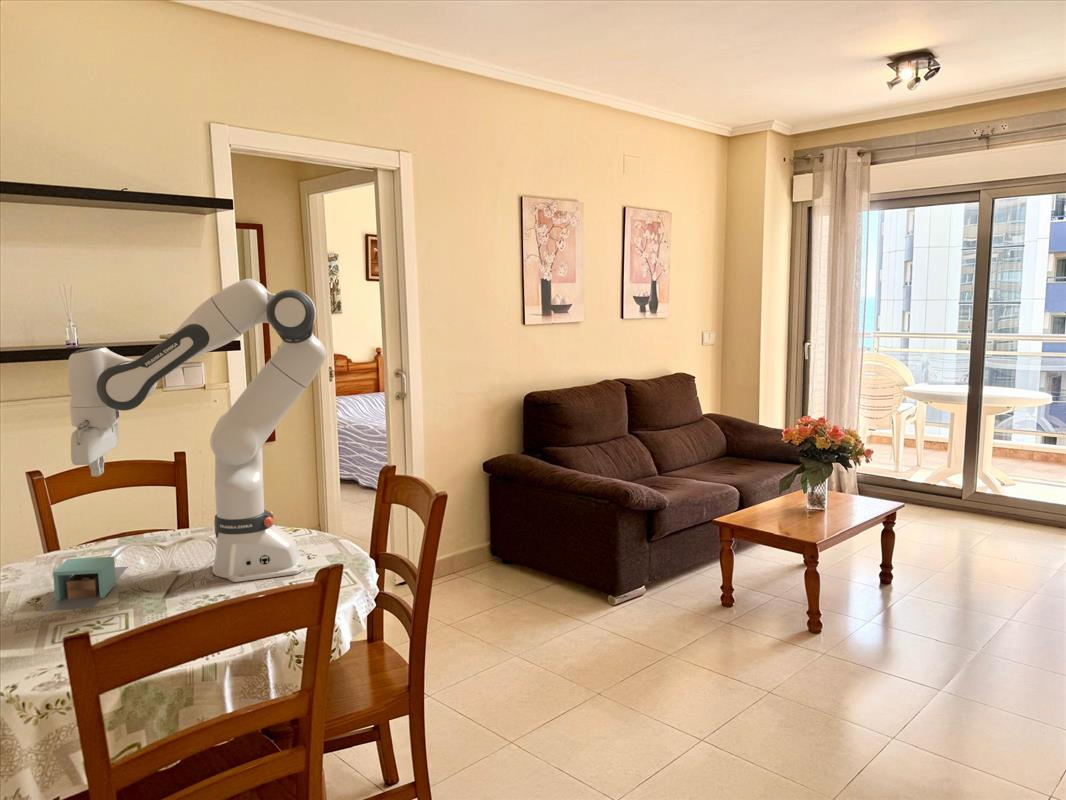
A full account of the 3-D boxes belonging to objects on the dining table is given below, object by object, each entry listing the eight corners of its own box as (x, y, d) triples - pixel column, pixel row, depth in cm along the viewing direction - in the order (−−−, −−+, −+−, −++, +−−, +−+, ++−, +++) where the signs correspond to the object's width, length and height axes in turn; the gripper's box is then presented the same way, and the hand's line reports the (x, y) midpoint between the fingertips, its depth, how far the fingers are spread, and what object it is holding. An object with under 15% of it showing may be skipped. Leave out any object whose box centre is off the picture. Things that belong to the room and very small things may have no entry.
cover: (116, 583, 173) (114, 556, 172) (103, 597, 165) (101, 569, 164) (70, 586, 171) (67, 559, 170) (55, 600, 163) (53, 572, 162)
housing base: (128, 570, 184) (127, 552, 183) (93, 612, 160) (91, 592, 160) (83, 573, 182) (82, 555, 181) (41, 615, 158) (39, 595, 158)
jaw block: (104, 587, 171) (103, 570, 170) (96, 597, 166) (94, 580, 165) (77, 589, 170) (76, 572, 169) (68, 599, 164) (66, 581, 164)
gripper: (92, 424, 164) (96, 486, 166) (122, 409, 184) (126, 464, 186) (60, 425, 163) (65, 487, 165) (93, 410, 183) (98, 465, 185)
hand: (97, 475), depth 176 cm, fingers closed
